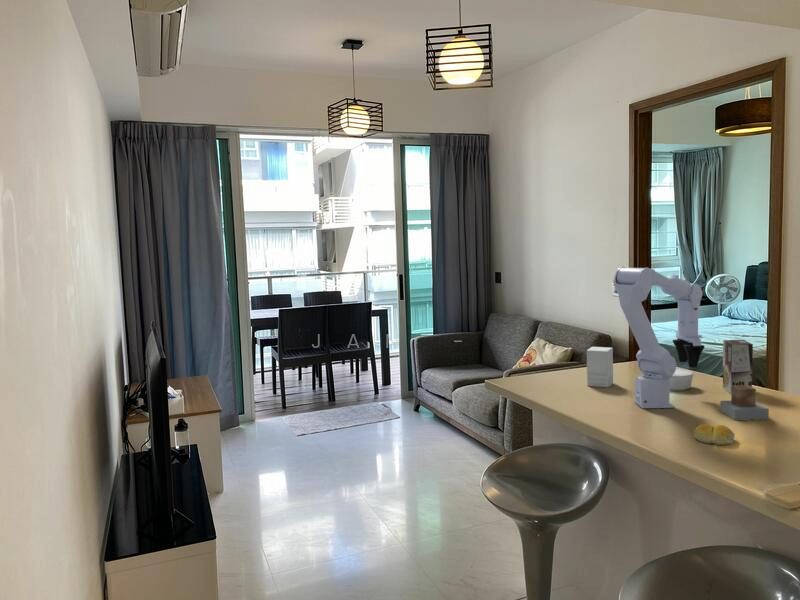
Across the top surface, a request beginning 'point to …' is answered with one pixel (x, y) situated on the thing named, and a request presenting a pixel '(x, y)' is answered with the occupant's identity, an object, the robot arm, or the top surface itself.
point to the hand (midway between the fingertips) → (688, 364)
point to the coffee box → (737, 363)
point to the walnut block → (743, 396)
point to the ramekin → (681, 380)
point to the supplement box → (599, 366)
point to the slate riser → (744, 411)
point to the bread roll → (714, 434)
